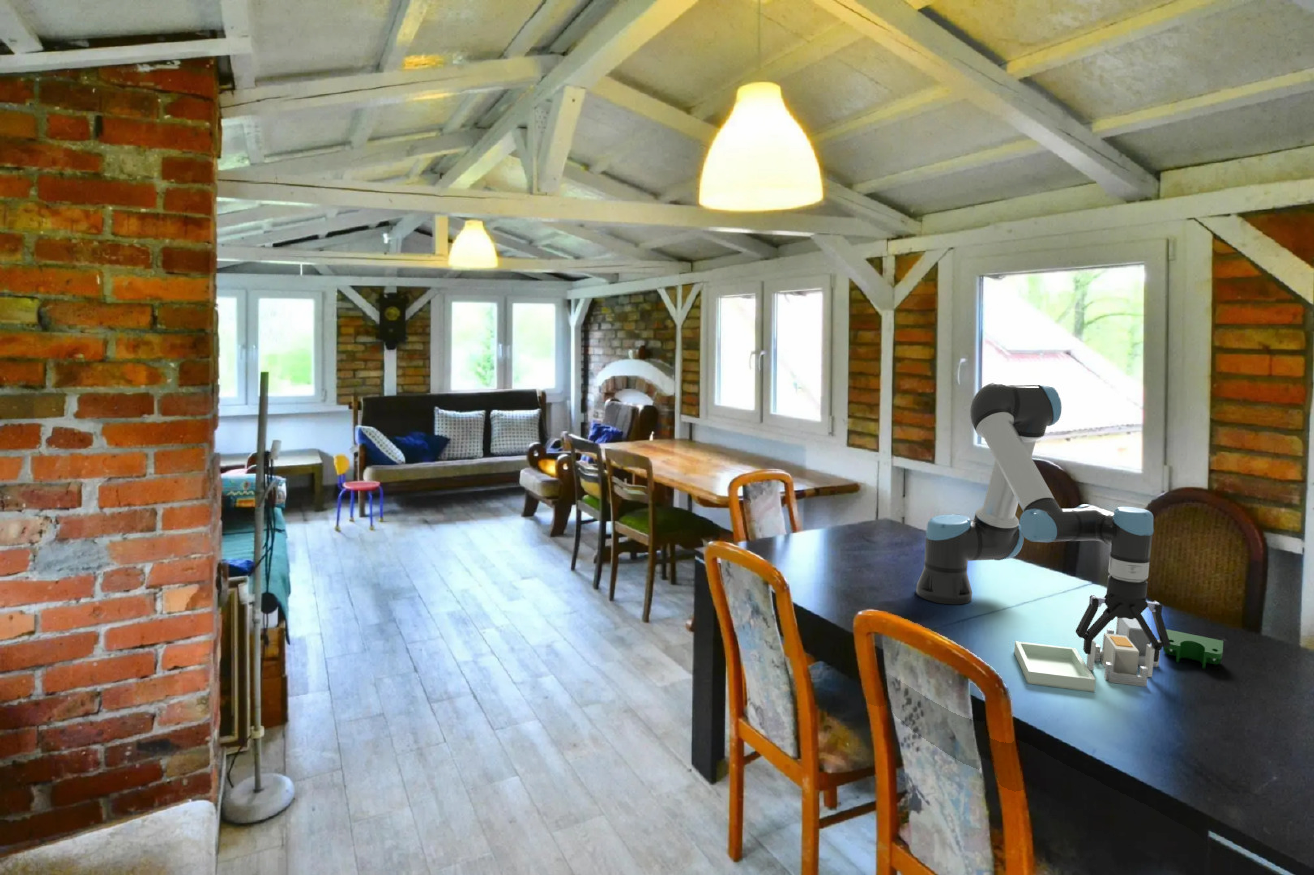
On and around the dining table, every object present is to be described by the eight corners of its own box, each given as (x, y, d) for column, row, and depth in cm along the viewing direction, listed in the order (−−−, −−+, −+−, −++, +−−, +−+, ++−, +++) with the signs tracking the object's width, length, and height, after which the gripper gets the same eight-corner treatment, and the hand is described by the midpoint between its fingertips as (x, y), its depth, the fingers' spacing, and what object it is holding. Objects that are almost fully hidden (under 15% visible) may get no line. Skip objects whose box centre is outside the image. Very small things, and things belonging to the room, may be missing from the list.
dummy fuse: (1126, 660, 176) (1129, 627, 175) (1114, 645, 185) (1117, 614, 184) (1148, 662, 175) (1152, 629, 174) (1135, 647, 184) (1139, 616, 183)
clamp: (1169, 676, 178) (1154, 643, 177) (1172, 662, 182) (1157, 629, 182) (1230, 673, 170) (1214, 638, 169) (1231, 658, 174) (1215, 624, 173)
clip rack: (1107, 682, 165) (1108, 666, 164) (1077, 637, 189) (1079, 623, 189) (1180, 691, 161) (1181, 675, 160) (1140, 644, 185) (1141, 630, 185)
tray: (1027, 683, 164) (1028, 671, 163) (1014, 652, 180) (1015, 641, 179) (1094, 692, 160) (1095, 679, 160) (1074, 659, 176) (1075, 648, 176)
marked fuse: (1112, 678, 167) (1115, 647, 166) (1101, 661, 175) (1104, 632, 174) (1136, 681, 165) (1139, 650, 164) (1123, 664, 174) (1126, 634, 173)
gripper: (1073, 576, 167) (1065, 670, 170) (1195, 587, 160) (1184, 685, 163) (1065, 567, 174) (1057, 657, 177) (1181, 577, 167) (1171, 670, 170)
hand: (1118, 670), depth 170 cm, fingers open, 11 cm apart
